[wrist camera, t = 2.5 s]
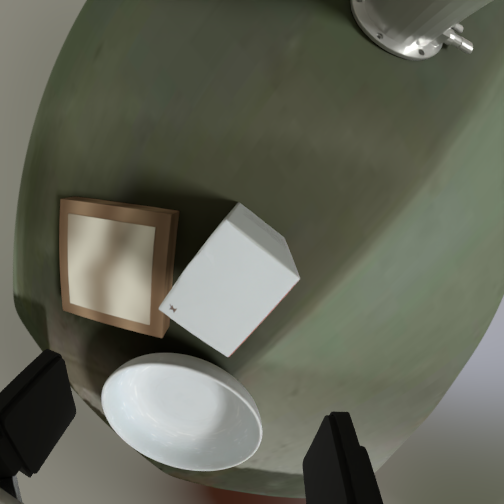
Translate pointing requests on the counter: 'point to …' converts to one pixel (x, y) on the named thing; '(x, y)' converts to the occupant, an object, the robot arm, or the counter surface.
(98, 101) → the counter surface
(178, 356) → the serving bowl
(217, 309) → the small box
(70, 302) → the picture frame
